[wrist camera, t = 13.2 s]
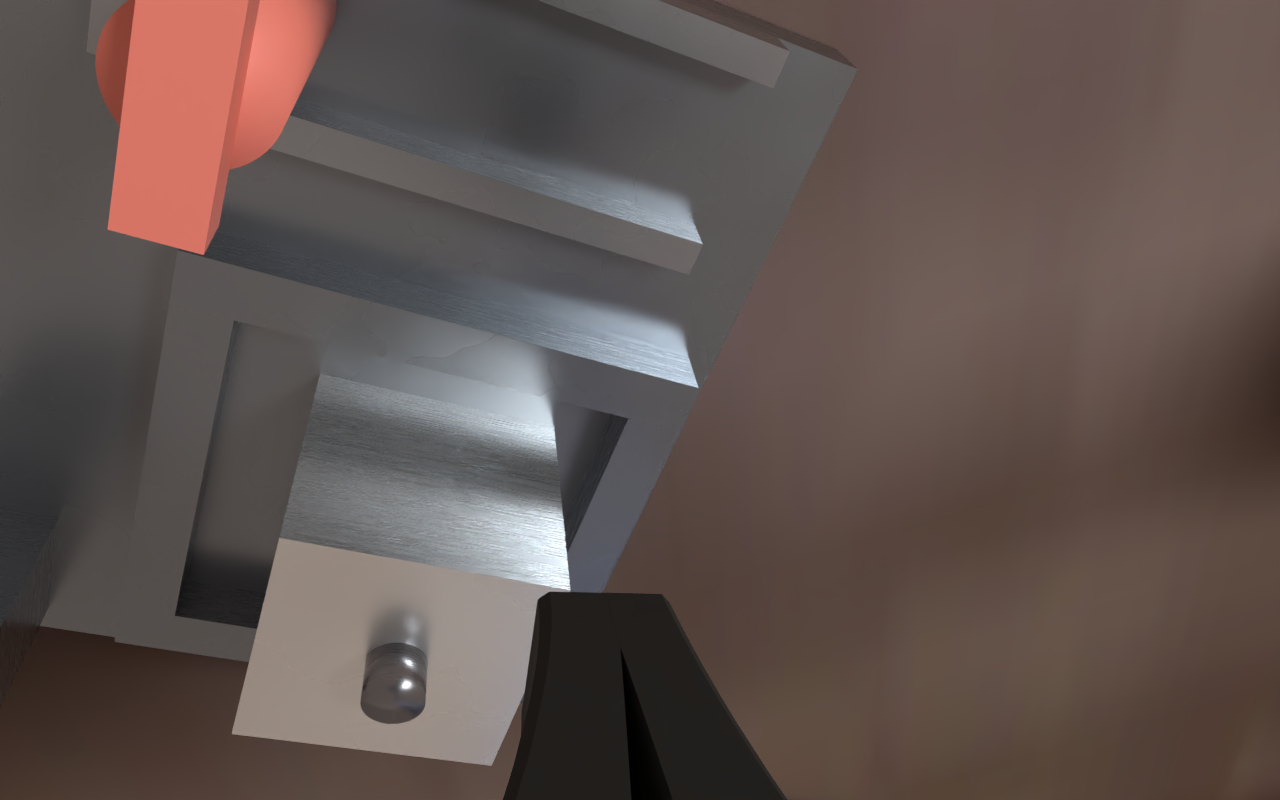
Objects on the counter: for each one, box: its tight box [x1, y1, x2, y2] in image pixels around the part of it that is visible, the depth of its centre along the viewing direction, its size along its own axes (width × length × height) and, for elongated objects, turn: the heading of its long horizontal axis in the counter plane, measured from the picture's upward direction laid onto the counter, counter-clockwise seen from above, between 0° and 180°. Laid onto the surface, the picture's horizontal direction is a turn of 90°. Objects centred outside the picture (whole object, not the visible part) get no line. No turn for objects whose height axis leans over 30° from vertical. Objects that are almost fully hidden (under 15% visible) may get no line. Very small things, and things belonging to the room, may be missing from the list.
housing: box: [232, 374, 570, 766], centre depth 18 cm, size 4×4×5 cm
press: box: [0, 0, 858, 706], centre depth 16 cm, size 14×16×8 cm
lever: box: [95, 0, 337, 255], centre depth 13 cm, size 2×3×5 cm, turn 159°
